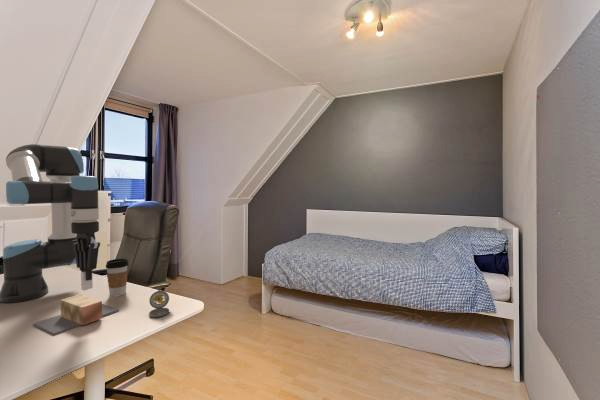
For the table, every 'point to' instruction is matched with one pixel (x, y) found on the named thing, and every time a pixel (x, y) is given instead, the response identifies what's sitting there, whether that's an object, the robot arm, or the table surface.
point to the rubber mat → (66, 322)
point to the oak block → (81, 309)
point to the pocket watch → (159, 309)
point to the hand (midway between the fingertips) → (87, 288)
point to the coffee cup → (117, 276)
